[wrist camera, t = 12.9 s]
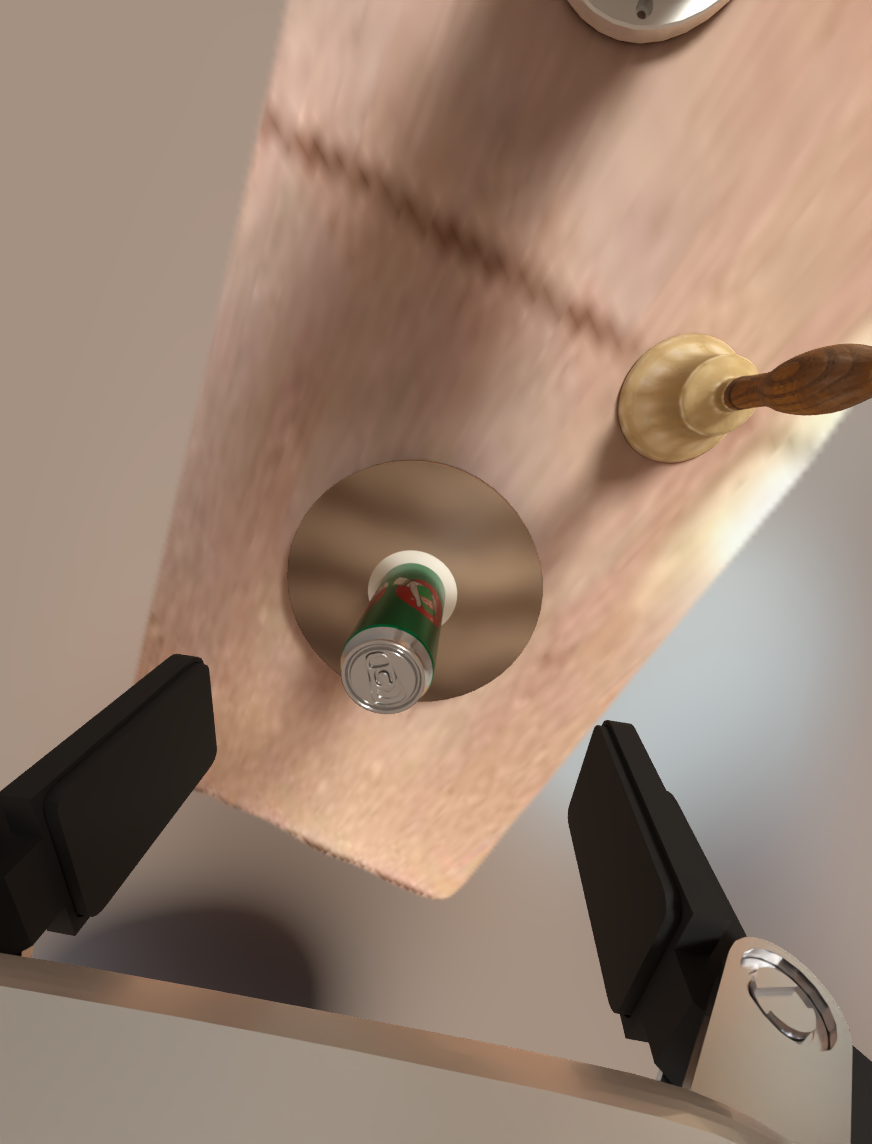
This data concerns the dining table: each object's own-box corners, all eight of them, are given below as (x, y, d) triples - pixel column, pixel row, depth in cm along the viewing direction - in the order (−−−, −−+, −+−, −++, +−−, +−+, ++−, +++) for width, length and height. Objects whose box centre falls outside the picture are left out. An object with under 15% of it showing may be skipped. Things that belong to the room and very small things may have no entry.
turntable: (294, 444, 31) (285, 445, 29) (563, 477, 30) (568, 480, 29) (294, 674, 38) (287, 684, 36) (515, 706, 37) (517, 717, 35)
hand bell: (630, 478, 31) (782, 524, 16) (605, 362, 29) (755, 288, 14) (750, 438, 29) (1042, 448, 14) (734, 313, 27) (1061, 169, 12)
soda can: (391, 626, 33) (351, 727, 22) (373, 568, 32) (320, 644, 21) (452, 614, 33) (443, 712, 21) (437, 554, 31) (418, 625, 20)
